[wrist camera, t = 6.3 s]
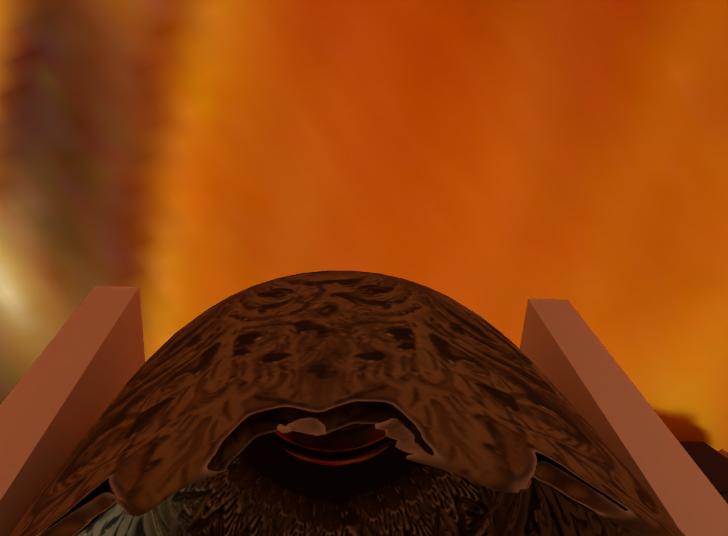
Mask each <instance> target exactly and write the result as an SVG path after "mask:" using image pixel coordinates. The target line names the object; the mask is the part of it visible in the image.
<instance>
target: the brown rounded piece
mask: <svg viewBox="0 0 728 536" xmlns="http://www.w3.org/2000/svg"><path fill="white" fill-rule="evenodd" d="M7 536H685V535H684V534H683V533H682V532H681V530H680V529H679V528H678V527H677V526H676V525H675V524H674V522H673V521H672V520H671V519H670V518H669V517H668V515H667V514H666V513H665V512H664V511H663V509H662V508H661V507H660V506H659V505H658V504H657V502H656V501H655V500H654V499H653V498H652V497H651V495H650V494H649V493H648V492H647V491H646V490H645V488H644V487H643V486H642V485H641V484H640V482H639V481H638V480H637V479H636V478H635V477H634V475H633V474H632V473H631V472H630V471H629V470H628V468H627V467H626V466H625V465H624V464H623V463H622V461H621V460H620V459H619V458H618V457H617V456H616V455H615V453H614V452H613V451H612V450H611V449H610V448H609V446H608V445H607V444H606V443H605V442H604V441H603V440H602V438H601V437H600V436H599V435H598V434H597V433H596V431H595V430H594V429H593V428H592V427H591V426H590V425H589V423H588V422H587V421H586V420H585V419H584V418H583V417H582V416H581V414H580V413H579V412H578V411H577V410H576V409H575V408H574V406H573V405H572V404H571V403H570V402H569V401H568V400H567V399H566V397H565V396H564V395H563V394H562V393H561V392H560V391H559V390H558V389H557V387H556V386H555V385H554V384H553V383H552V382H551V381H550V380H549V379H548V378H547V377H546V376H545V375H544V374H543V373H542V372H541V371H540V370H539V368H538V367H537V366H536V365H535V364H534V363H533V362H532V361H531V360H530V359H529V358H528V357H527V356H526V355H525V354H524V353H523V352H522V351H521V350H520V349H519V348H518V347H517V346H516V345H515V344H513V343H512V342H511V341H510V340H509V339H508V338H507V337H505V336H504V335H503V334H502V333H501V332H500V331H499V330H497V329H496V328H495V327H493V326H492V325H491V324H490V323H488V322H487V321H486V320H484V319H483V318H482V317H481V316H479V315H477V314H476V313H474V312H473V311H471V310H469V309H468V308H466V307H465V306H463V305H461V304H460V303H458V302H456V301H455V300H453V299H451V298H450V297H448V296H446V295H444V294H441V293H439V292H437V291H435V290H433V289H431V288H428V287H426V286H423V285H420V284H417V283H414V282H411V281H408V280H405V279H402V278H397V277H392V276H388V275H383V274H379V273H369V272H360V271H320V272H310V273H301V274H296V275H291V276H287V277H282V278H277V279H274V280H271V281H267V282H264V283H261V284H258V285H255V286H252V287H250V288H248V289H245V290H243V291H241V292H239V293H236V294H234V295H232V296H230V297H228V298H226V299H225V300H223V301H221V302H219V303H218V304H216V305H214V306H213V307H211V308H209V309H208V310H206V311H205V312H203V313H202V314H201V315H199V316H198V317H196V318H195V319H194V320H192V321H191V322H190V323H188V324H187V325H186V326H184V327H183V328H182V329H180V330H179V331H178V332H176V333H175V334H174V335H173V336H172V337H171V338H170V339H169V340H168V341H167V342H166V343H165V344H164V345H163V346H162V347H161V348H160V349H158V350H157V351H156V352H155V353H154V354H153V355H152V356H151V357H150V358H149V359H148V360H147V361H146V362H145V363H144V364H143V365H142V366H141V367H140V368H139V370H138V371H137V372H136V373H135V374H134V375H133V377H132V378H131V379H130V380H129V381H128V382H127V384H126V385H125V386H124V387H123V388H122V389H121V391H120V392H119V393H118V394H117V396H116V397H115V398H114V399H113V401H112V402H111V403H110V404H109V405H108V407H107V408H106V409H105V410H104V412H103V413H102V414H101V415H100V417H99V418H98V419H97V420H96V422H95V423H94V424H93V426H92V427H91V428H90V429H89V431H88V432H87V433H86V434H85V436H84V437H83V438H82V439H81V441H80V442H79V443H78V445H77V446H76V447H75V448H74V450H73V451H72V452H71V453H70V455H69V456H68V457H67V459H66V460H65V461H64V462H63V464H62V465H61V466H60V468H59V469H58V470H57V471H56V473H55V474H54V475H53V477H52V478H51V479H50V480H49V482H48V483H47V484H46V486H45V487H44V488H43V490H42V491H41V492H40V493H39V495H38V496H37V497H36V499H35V500H34V501H33V503H32V504H31V505H30V507H29V508H28V509H27V510H26V512H25V513H24V514H23V516H22V517H21V518H20V520H19V521H18V522H17V524H16V525H15V526H14V528H13V529H12V530H11V532H10V533H9V534H8V535H7Z"/></svg>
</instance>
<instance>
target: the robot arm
mask: <svg viewBox="0 0 728 536" xmlns="http://www.w3.org/2000/svg"><path fill="white" fill-rule="evenodd" d="M520 350H521V351H522V352H523V353H524V354H525V355H526V356H527V357H528V358H529V359H530V360H531V361H532V362H533V363H534V364H535V365H536V366H537V367H538V368H539V370H540V371H541V372H542V373H543V374H544V375H545V376H546V377H547V378H548V379H549V380H550V381H551V382H552V383H553V384H554V385H555V386H556V387H557V389H558V390H559V391H560V392H561V393H562V394H563V395H564V396H565V397H566V399H567V400H568V401H569V402H570V403H571V404H572V405H573V406H574V408H575V409H576V410H577V411H578V412H579V413H580V414H581V416H582V417H583V418H584V419H585V420H586V421H587V422H588V423H589V425H590V426H591V427H592V428H593V429H594V430H595V431H596V433H597V434H598V435H599V436H600V437H601V438H602V440H603V441H604V442H605V443H606V444H607V445H608V446H609V448H610V449H611V450H612V451H613V452H614V453H615V455H616V456H617V457H618V458H619V459H620V460H621V461H622V463H623V464H624V465H625V466H626V467H627V468H628V470H629V471H630V472H631V473H632V474H633V475H634V477H635V478H636V479H637V480H638V481H639V482H640V484H641V485H642V486H643V487H644V488H645V490H646V491H647V492H648V493H649V494H650V495H651V497H652V498H653V499H654V500H655V501H656V502H657V504H658V505H659V506H660V507H661V508H662V509H663V511H664V512H665V513H666V514H667V515H668V517H669V518H670V519H671V520H672V521H673V522H674V524H675V525H676V526H677V527H678V528H679V529H680V530H681V532H682V533H683V534H684V535H685V536H728V458H726V457H725V456H723V455H722V454H720V453H719V452H717V451H716V450H715V449H713V448H712V447H710V446H709V445H707V444H706V443H704V442H679V441H678V440H677V439H676V438H675V436H674V435H673V434H672V432H671V431H670V430H669V429H668V427H667V426H666V425H665V424H664V422H663V421H662V420H661V418H660V417H659V416H658V415H657V413H656V412H655V411H654V410H653V408H652V407H651V406H650V404H649V403H648V402H647V401H646V399H645V398H644V397H643V395H642V394H641V393H640V392H639V390H638V389H637V388H636V387H635V385H634V384H633V383H632V381H631V380H630V379H629V378H628V376H627V375H626V374H625V373H624V371H623V370H622V369H621V367H620V366H619V365H618V364H617V362H616V361H615V360H614V358H613V357H612V356H611V355H610V353H609V352H608V351H607V350H606V348H605V347H604V346H603V344H602V343H601V342H600V341H599V339H598V338H597V337H596V336H595V334H594V333H593V332H592V330H591V329H590V328H589V327H588V325H587V324H586V323H585V321H584V320H583V319H582V318H581V316H580V315H579V314H578V313H577V311H576V310H575V309H574V307H573V306H572V305H571V304H570V302H569V301H568V300H555V299H528V302H527V308H526V314H525V320H524V326H523V332H522V338H521V344H520ZM144 363H145V355H144V342H143V330H142V318H141V305H140V293H139V287H127V286H95V287H94V289H93V290H92V291H91V292H90V294H89V295H88V296H87V297H86V299H85V300H84V301H83V302H82V304H81V305H80V306H79V307H78V309H77V310H76V311H75V312H74V314H73V315H72V316H71V317H70V319H69V320H68V321H67V322H66V324H65V325H64V326H63V327H62V329H61V330H60V331H59V332H58V334H57V335H56V336H55V337H54V339H53V340H52V341H51V342H50V344H49V345H48V346H47V347H46V349H45V350H44V351H43V352H42V354H41V355H40V356H39V357H38V359H37V360H36V361H35V362H34V364H33V365H32V366H31V367H30V369H29V370H28V371H27V372H26V374H25V375H24V376H23V377H22V379H21V380H20V381H19V382H18V384H17V385H16V386H15V387H14V389H13V390H12V391H11V392H10V394H9V395H8V396H7V397H6V399H5V400H4V401H3V402H2V404H1V405H0V536H7V535H8V534H9V533H10V532H11V530H12V529H13V528H14V526H15V525H16V524H17V522H18V521H19V520H20V518H21V517H22V516H23V514H24V513H25V512H26V510H27V509H28V508H29V507H30V505H31V504H32V503H33V501H34V500H35V499H36V497H37V496H38V495H39V493H40V492H41V491H42V490H43V488H44V487H45V486H46V484H47V483H48V482H49V480H50V479H51V478H52V477H53V475H54V474H55V473H56V471H57V470H58V469H59V468H60V466H61V465H62V464H63V462H64V461H65V460H66V459H67V457H68V456H69V455H70V453H71V452H72V451H73V450H74V448H75V447H76V446H77V445H78V443H79V442H80V441H81V439H82V438H83V437H84V436H85V434H86V433H87V432H88V431H89V429H90V428H91V427H92V426H93V424H94V423H95V422H96V420H97V419H98V418H99V417H100V415H101V414H102V413H103V412H104V410H105V409H106V408H107V407H108V405H109V404H110V403H111V402H112V401H113V399H114V398H115V397H116V396H117V394H118V393H119V392H120V391H121V389H122V388H123V387H124V386H125V385H126V384H127V382H128V381H129V380H130V379H131V378H132V377H133V375H134V374H135V373H136V372H137V371H138V370H139V368H140V367H141V366H142V365H143V364H144Z"/></svg>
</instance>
